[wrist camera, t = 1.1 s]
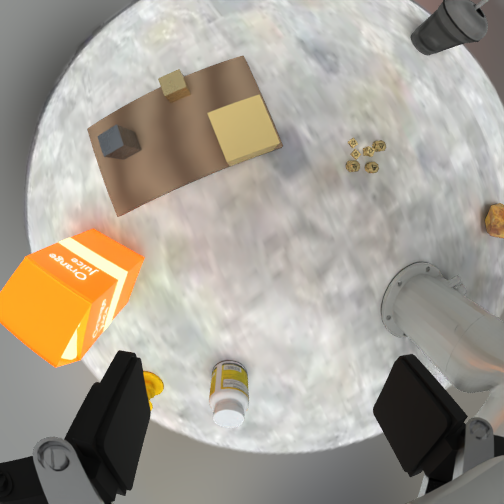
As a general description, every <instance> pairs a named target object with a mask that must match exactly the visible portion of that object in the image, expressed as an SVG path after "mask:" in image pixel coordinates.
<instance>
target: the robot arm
mask: <svg viewBox="0 0 504 504" xmlns="http://www.w3.org/2000/svg"><path fill="white" fill-rule="evenodd" d="M460 282H461V279H460V277H459V276H458V275H457V276H455V277H453V278H452V279H451V280H446V279H445V278H443V275H442V273H441V272H440V270H439V269H438V268H436V267H435V266H433V265H431V264H429V263H425V262H419V263H415V264H412V265H410V266H408V267H406V268H405V269H404V270H402V271H401V272H400V273H399V274H398V275H397V276H396V277H395V278H394V280H393V281H392V282H391V284H390V285H389V287H388V289H387V291H386V293H385V296H384V299H383V303H382V310H381V314H382V320H383V323H384V325H385V327H386V328H387V329H388V331H389V332H390V333H392V334H393V335H395V336H397V337H409V338H410V339H411V340H412V341H413V342H414V343H415V344H416V346H417V347H418V348H419V349H420V350H421V351H422V352H423V353H424V354H425V355H426V356H427V357H428V358H429V359H430V361H431V362H432V363H433V364H434V365H435V366H436V367H437V368H438V369H439V370H440V372H441V373H442V374H443V375H444V376H445V377H446V378H447V379H448V380H449V381H450V383H451V384H452V385H453V386H454V387H455V388H457V389H458V390H460V391H463V392H467V393H475V392H482V391H488V390H489V391H490V394H489V397H488V399H487V400H486V402H485V403H484V405H483V406H482V408H481V409H480V410H479V412H478V413H477V414H476V415H475V416H474V418H471V419H469V420H468V422H467V423H466V424H465V423H464V421H465V419H466V418H467V417H468V416H467V415H466V414H465V412H464V411H463V410H462V409H461V408H460V406H459V405H458V404H457V403H456V402H455V401H454V399H453V398H452V397H451V396H450V395H449V394H448V392H447V391H446V390H445V389H444V388H443V387H442V385H441V384H440V383H439V382H438V381H437V380H436V379H435V377H434V376H433V375H432V374H431V373H430V372H429V371H428V370H427V368H426V367H425V366H424V365H423V364H422V363H421V362H420V361H419V360H418V359H417V357H416V356H415V355H413V354H410V355H403V356H400V357H399V358H398V359H397V360H396V361H395V362H394V365H393V367H392V369H391V372H390V374H389V376H388V378H387V380H386V383H385V385H384V387H383V389H382V391H381V393H380V395H379V397H378V399H377V401H376V403H375V405H374V408H373V413H374V416H375V417H376V419H377V421H378V423H379V425H380V427H381V428H382V430H383V432H384V434H385V436H386V438H387V440H388V441H389V443H390V445H391V447H392V449H393V451H394V453H395V454H396V456H397V458H398V460H399V462H400V464H401V466H402V468H403V469H404V471H405V472H408V474H409V476H410V477H412V476H415V475H417V474H419V473H421V472H422V471H424V473H425V475H424V479H423V482H422V486H421V489H420V492H419V496H418V498H417V499H415V500H412V501H410V502H408V503H406V504H504V322H503V321H502V320H501V319H499V318H498V317H496V316H495V315H493V314H492V313H490V312H489V311H487V310H486V309H484V308H482V307H481V306H479V305H478V304H476V303H475V302H473V301H472V300H470V299H468V298H467V297H465V296H464V295H465V294H466V293H467V290H466V287H465V286H464V285H463V284H461V285H459V286H458V287H456V288H455V289H452V287H454V286H456V285H458V284H459V283H460ZM150 413H151V411H150V405H149V400H148V396H147V391H146V385H145V380H144V374H143V368H142V362H141V359H140V358H137V357H136V354H135V353H132V352H126V351H120V350H119V351H118V352H117V354H116V355H115V357H114V359H113V361H112V362H111V364H110V366H109V368H108V369H107V371H106V373H105V375H104V377H103V379H102V380H101V382H100V383H99V382H96V383H94V384H93V386H92V387H91V389H90V391H89V393H88V394H87V396H86V398H85V400H84V402H83V404H82V406H81V407H80V409H79V411H78V413H77V415H76V417H75V419H74V421H73V423H72V425H71V427H70V429H69V431H68V433H67V435H66V437H65V439H62V438H58V437H47V438H44V439H42V440H40V441H39V442H38V443H37V444H36V445H35V447H34V449H33V456H30V457H27V458H22V459H18V460H13V461H9V462H4V463H0V504H114V503H113V501H115V497H116V494H120V495H123V496H125V495H126V490H131V489H132V487H133V482H134V478H135V474H136V470H137V465H138V461H139V457H140V453H141V449H142V446H143V442H144V438H145V434H146V430H147V427H148V423H149V419H150Z"/></svg>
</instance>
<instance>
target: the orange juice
mask: <svg viewBox="0 0 504 504" xmlns="http://www.w3.org/2000/svg"><path fill="white" fill-rule="evenodd" d="M144 258H145V257H143V256H141V255H139V254H137V253H135V252H134V251H132V250H130V249H128V248H126V247H125V246H123V245H121V244H119V243H117V242H116V241H114V240H112V239H110V238H109V237H107V236H105V235H103V234H102V233H100V232H98V231H97V230H95V229H91V230H88V231H86V232H83V233H81V234H78V235H75V236H73V237H69V238H67V239H64V240H62V241H59V242H58V243H56V244H53V245H51V246H49V247H46V248H44V249H42V250H39V251H37V252H35V253H32V254H30V255H28V256H26V257H25V259H24V260H23V261H22V263H21V264H20V265H19V267H18V268H17V269H16V271H15V272H14V274H13V275H12V276H11V278H10V279H9V281H8V282H7V283H6V285H5V286H4V288H3V289H2V291H1V292H0V323H1V324H2V325H4V326H5V327H6V328H7V329H8V330H9V331H10V332H11V333H12V334H13V335H15V336H16V337H17V338H18V339H19V340H20V341H22V342H23V343H24V344H25V345H26V346H28V347H29V348H30V349H31V350H33V351H34V352H35V353H37V354H38V355H39V356H40V357H42V358H43V359H44V360H46V361H47V362H48V363H50V364H51V365H53V366H54V367H58V366H62V365H65V364H69V363H72V362H75V361H79V360H81V359H82V357H83V356H84V355H85V353H86V352H87V351H88V350H89V348H90V347H91V346H92V345H93V343H94V342H95V341H96V340H97V338H98V337H99V336H100V335H101V333H102V332H104V331H105V329H106V328H107V327H108V326H109V324H110V323H111V322H112V320H113V319H114V318H115V317H116V315H117V314H118V313H119V312H120V311H121V310H122V308H123V307H124V306H125V305H126V304H127V303H128V300H129V297H130V295H131V292H132V289H133V286H134V284H135V281H136V278H137V276H138V273H139V271H140V268H141V265H142V263H143V260H144Z"/></svg>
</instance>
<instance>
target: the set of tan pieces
mask: <svg viewBox="0 0 504 504" xmlns="http://www.w3.org/2000/svg"><path fill="white" fill-rule="evenodd" d="M348 143H349V145H350V146H351V147H352V148H354V147H355V146H356V145H357V144H358V143H357V142H356V140H355V139H354V138H352V139H351V140H350V141H349V142H348ZM372 146H373V148H371V147H369V146H368V147H366V148H363V154H364V156H369V157H371V156H373V154H374V151H376V152H378V151H385V149H386V144H385V142H384V141H382V140H380V141H375V142H374V143H373V145H372ZM351 155H352V156H353V157H354V158H355V159H358V157H359V156H360V155H361V154H360V153H359V152H358V151H357V150H356V149H355V150H354V151H353V152H352V153H351ZM346 169H347V170H348V171H349V172H355V171H358V170H359V169H360V164H359V163H358V162H357V161H356V160H353V161H348V162H347V164H346ZM378 169H379V167H378V164H377V163H376V162H369V163H366V165H365V170H366V171H367V172H368V173H376V172H377V171H378Z"/></svg>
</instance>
